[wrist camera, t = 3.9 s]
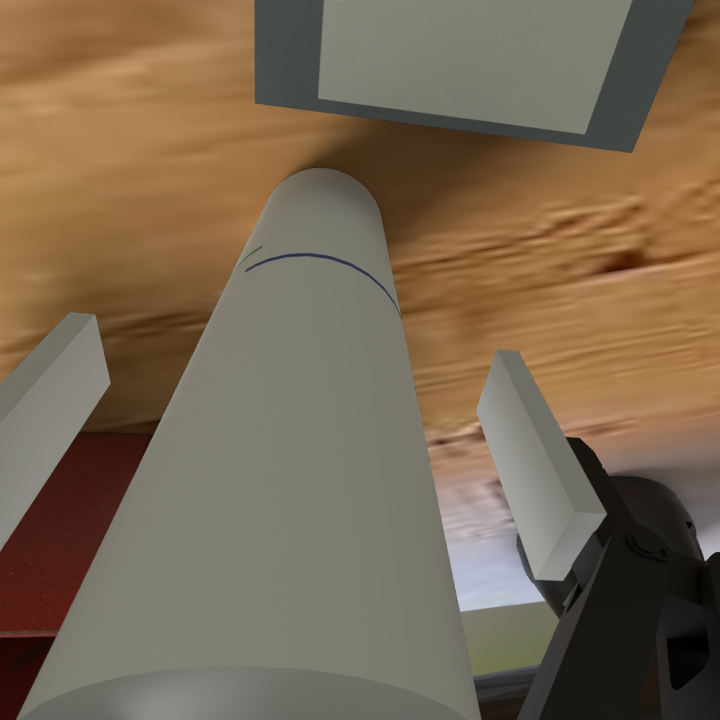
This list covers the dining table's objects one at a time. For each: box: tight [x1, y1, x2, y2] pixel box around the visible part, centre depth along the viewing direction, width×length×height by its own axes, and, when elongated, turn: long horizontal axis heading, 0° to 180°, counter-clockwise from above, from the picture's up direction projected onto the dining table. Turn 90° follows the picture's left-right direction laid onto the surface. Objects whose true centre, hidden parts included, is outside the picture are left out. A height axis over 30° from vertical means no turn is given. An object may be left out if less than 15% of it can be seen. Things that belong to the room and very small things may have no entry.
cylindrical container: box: [16, 168, 481, 720], centre depth 18 cm, size 7×7×25 cm
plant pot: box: [0, 433, 153, 720], centre depth 33 cm, size 19×19×17 cm
